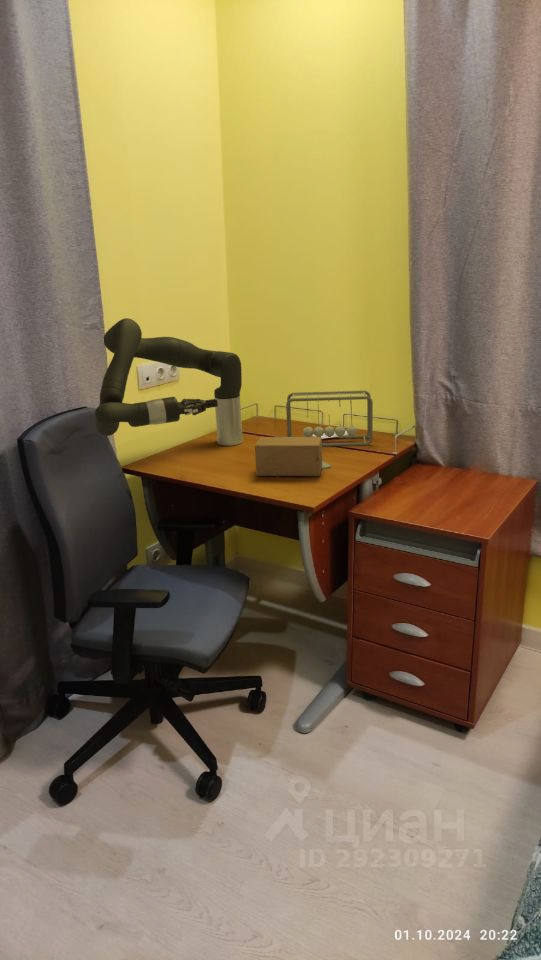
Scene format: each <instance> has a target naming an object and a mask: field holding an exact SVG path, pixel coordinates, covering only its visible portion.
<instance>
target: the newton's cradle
mask: <svg viewBox="0 0 541 960" xmlns="http://www.w3.org/2000/svg"><path fill="white" fill-rule="evenodd" d="M362 394H363V395H362ZM332 395H333V396H332ZM334 395H336V396H334ZM341 395H349V396H341ZM354 395H356V396H354ZM298 396H299V397H298ZM301 396H306V397H301ZM308 396H317V397H308ZM319 396H320V397H319ZM371 397H372V395H371V394H370V392H369V391H367V390H337V391H335V390H334V391H308V392H307V391H304V392H303V391H300V392H291V393H289V394H287V397H286V398H287V399H286V402H285V404H286V405H285V407H286V409H285V411H286V433H287V436H286V437H294V436H293V435H292V434H293V433H292V411H291V403H292V402H306V409H307V417H309V408H308V407H309V405H308V404H309V403H308V402H316V401H317V402H320V401H321V402H323V401H338V402H339V406H341V401H349V403H350V404H352V400H367V401H366V404H367V405H366V406H367V408H366V409H367V413H366V414H367V416H366V417H367V419H366V421H367V426H366V427H367V432H366V434H364V435H357V433H358V428H357V426H355V425H353V413H352V412H353V411H352V405H350V417H351V418H350V423H351V425H350V426H348V427H347V428H346V429H345V426H342V425H338V426H336V427H335V428H334V427H333V426H331V425H330V423H331V422H330V421H331V420H330V415H328V426H326V427H325V429H324V428H323V427H322V426H320V419H319V417H320V415H319V414H320V413H319V411H320V410H319V405H317V412H318V413H317V414H318V415H317V417H318V419H317V420H318V425H317V426H316V427H315V428H314V429H313V428H312V427H311V426H309V425H307V426H306V427H304V428H303V430H302V434H303V437H313V435H314V437H321V436H324V435H325V436H328V437H331V436H338V438H346V439H345V440H351V439H352V440H354V439H355V440H356V438H359V439H363V440H364V441H363V442H326V443H323V442H322V446H324V447H351V446H353V447H355V446H360V447H361V446H369V445H370V444H372V442H373V433H374V432H373V426H374V425H373V418H374V417H373V416H374V415H373V413H374V411H373V407H374V406H373V405H374V404H373V399H372V398H371ZM346 433H347V435H345V434H346ZM367 438H368V439H369V440H368V441H366V439H367Z"/></svg>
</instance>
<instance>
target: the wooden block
mask: <svg viewBox="0 0 541 960" xmlns="http://www.w3.org/2000/svg"><path fill="white" fill-rule="evenodd" d="M322 443H323V439H322V438H321V437H317V436H311V437H306V436H293V437H287V436H260V437H259V439H257V442H256V443H255V446H254V451H255V452H254V453H255V454H254V456H255V473H256V476H257V477H258V476H262V477H263V476H264V477H265V476H267V477H269V476H272V477H274V476H277V477H286V476H287V477H292V476H293V477H319V476H321V472H322V470H323V469H322V461H323V447H322Z"/></svg>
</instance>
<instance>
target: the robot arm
mask: <svg viewBox="0 0 541 960" xmlns="http://www.w3.org/2000/svg"><path fill="white" fill-rule="evenodd" d="M103 338H104V342H103V344H104V346H105V348H106V349H107V350H108V351H109V352H111V353H112V354H113V355H112V359H111V361H110V362H109V364H108V367H107V369H106V370H105V371H106V372H105V374H104V376H103V378H102V379H103V380H102V383H101V388H100V390H99V391H100V394H99V405H98V406H97V407H96V408H95V410H94V427H95V426H96V427H95V430H96V429H97V430H96V431H97V432H98V434H99V435H102V436H105V437H110V436H113V435H115V434H116V433H117V432H118V430H119V427H120V423H128V425H129V426H130V427H132V428H134V427H135V428H139V427H144V426H150V425H151V426H152V425H153V426H154V425H155V426H156V425H163V424H169V423H175V422H179V421H180V418H181V417H180V416H181V415H184V416H189V415H192V416H196V415H199V414H201V413H203V412H206V410H207V409H210V408H211V409H212V408H215V421H216V423H215V424H216V436H217V444H218V445H219V446H225V447H227V446H237V445H240V444H242V443H243V442H244V441H243V440H244V439H243V429H242V427H243V425H242V410H241V409H242V408H241V407H242V406H241V390H242V386H243V385H242V384H243V383H242V381H243V379H242V375H243V374H242V362H241V359H240V357H239V355H238V354H236V353H233V352H230V351H229V352H228V351H223V350H222V351H220V350H209V349H204V348H200V347H198V346H197V345H194V344H193V343H191V341H190V342H189V341H187V340H183V339H180V338H177V337H173V336H160V337H159V336H157V337H147V338H143V335H142V329H141V327H140V325H139V324H138V323H137V321H135V320H134V319H132V318H126V317H125V318H122V319H120V320H118V321H117V322H116V323H115V324H113V325H112V326H111V327H110V328H109V329H108V330H107V331H106V332H105V334H104V336H103ZM135 358H137V359H143V360H148V361H152V362H157V363H160V364H165V365H167V366H168V365H169V366H172V367H177V368H181V369H183V368H184V369H194V370H199V371H202V372H204V373H206V374H209V375H212V376H213V377H214V376H215V377H217V378H220V386H219V387H216V388H215V389H214V391H213V394H214V398H211V399H205V400H204V399H200V398H183V399H181V401H178V398H176V396H170V397H163V398H156V399H150V400H147V401H140V402H135V403H126V402H123V401H124V398H125V394H126V393H125V392H126V388H127V383H128V382H127V381H128V377H129V374H130V371H131V367H132V365H133V361H134V359H135Z"/></svg>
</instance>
